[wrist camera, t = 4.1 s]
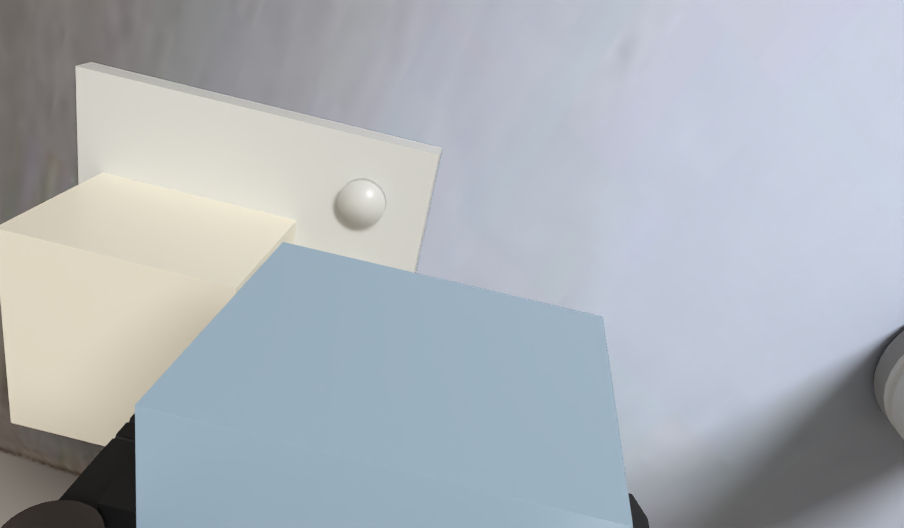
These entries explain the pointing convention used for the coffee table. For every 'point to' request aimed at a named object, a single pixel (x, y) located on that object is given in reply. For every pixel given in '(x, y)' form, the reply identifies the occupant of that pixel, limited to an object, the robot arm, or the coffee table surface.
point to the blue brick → (382, 408)
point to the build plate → (261, 162)
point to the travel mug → (891, 383)
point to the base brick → (116, 295)
